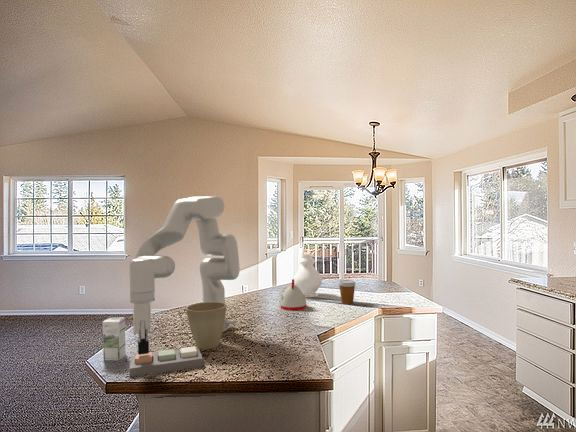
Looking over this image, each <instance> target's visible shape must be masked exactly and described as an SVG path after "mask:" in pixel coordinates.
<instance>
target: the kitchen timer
mask: <svg viewBox="0 0 576 432" xmlns="http://www.w3.org/2000/svg"><path fill="white" fill-rule="evenodd" d="M306 299H307V297H305V294H303V293H302V291H301V290H300V289H299V288H298V287H297V286H295V285H294V278H293V279H291V285H290V286H288V287H287V288H286V289H285V290H284V292H283V293H282V294H281V297H280V309H281V310H285V311H301V310H304V309H307V300H306Z"/></svg>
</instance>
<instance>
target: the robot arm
mask: <svg viewBox="0 0 576 432" xmlns="http://www.w3.org/2000/svg"><path fill="white" fill-rule="evenodd" d="M224 210H225V202H224V200H223V199H222V197H221V196H217V195H210V196H206V195H205V196H204V195H201V196H190V197H187V198H179V199H178V200H176V201H175V202H174V203H173V205H172V207H171V208H170V211H169V212H168V215H167V217H166V219H165V220H164V223H163V225H162V226H161V228H160V229H159V230H158V231H156V232H154V233H153V234H152V235H151V236H150V237H148V238H146V240H145V241H144V242H142V244H141V245H140V247H139V248H138V250H137V253H136V254H135V255H134V259H131V261H130V262H129V303H130V304H133V307H132V308H133V310H132V311H133V313H132V314H133V316H132V318H133V320H132V321H133V329H132V331H133V333H132V334H133V335H134V336H135V335H137V334H138V335H137V336H138V341H137V354H139V355H140V354H148V353H149V352H150V344H149V343H150V341H149V333H151V322H152V302H155V301H156V297H155V296H156V294H155V292H156V289H155V287H156V286H155V283H156V282H155V279H165V278H168V277H171V276H172V275H173V273H174V272H175V269H176V263H175V261H174V259H173V258H171V256H167V255H157V253H159V251H161V250H163V249H165V248H167V247H170V246H172V245H175V244H177V243H178V242H181V241H183V239H184V238H185V235H186V233H187V231H188V228H189V226H190V224H191V222H192V221H194V222H195V223H196V226H197V230H198V237H199V246H200V250H201V253H202V254H203V255H205V256H215V257H207V258H204V259H203V260H201V262H200V264H199V274H200V278H201V279H200V280H201V287H202V288H201V289H202V302H222V303H225V304H226V299H225V297H226V294H225V293H226V290H225V286H224V284H223V283H222V281H233V280H236V279H237V278H239V276H240V275H239V274H240V269H241V267H240V259H239V249H238V241H237V239H236V237H235V235H233V234H231V233H220V229H219V224H218V220H217V218H218V217H220V216H221V215H222V214H223V213H224ZM218 256H220V257H218ZM221 256H223V257H221ZM236 324H237V320H236V319H232V318H229V319H227V318H226V317H225V321H224V327H223V331H222V333H225V332H227V331H228V330H229V329H230V325H236Z"/></svg>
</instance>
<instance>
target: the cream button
mask: <svg viewBox="0 0 576 432" xmlns="http://www.w3.org/2000/svg"><path fill="white" fill-rule="evenodd" d="M196 347H197V346H187V347H180V348H179V349H180V356H181V358H185V357H192V356H197V350H196Z"/></svg>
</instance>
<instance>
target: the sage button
mask: <svg viewBox="0 0 576 432" xmlns="http://www.w3.org/2000/svg"><path fill="white" fill-rule="evenodd" d="M174 350H175V348H173V349H171V348H170V349H163V350H158V352H159V361H163V360H170V359H175V352H174Z"/></svg>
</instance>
